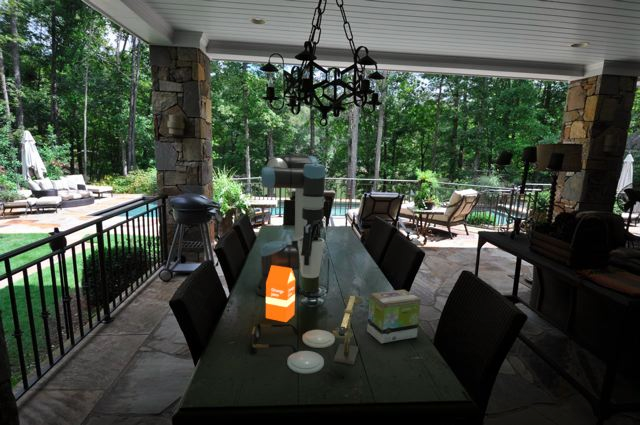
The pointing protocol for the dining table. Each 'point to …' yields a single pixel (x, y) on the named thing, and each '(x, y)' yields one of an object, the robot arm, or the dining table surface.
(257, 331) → the sunglasses
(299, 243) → the foam cup
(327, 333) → the dish high
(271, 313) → the orange juice
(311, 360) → the dish low
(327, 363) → the dining table surface
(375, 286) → the dining table surface
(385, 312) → the tea box
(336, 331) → the balance
